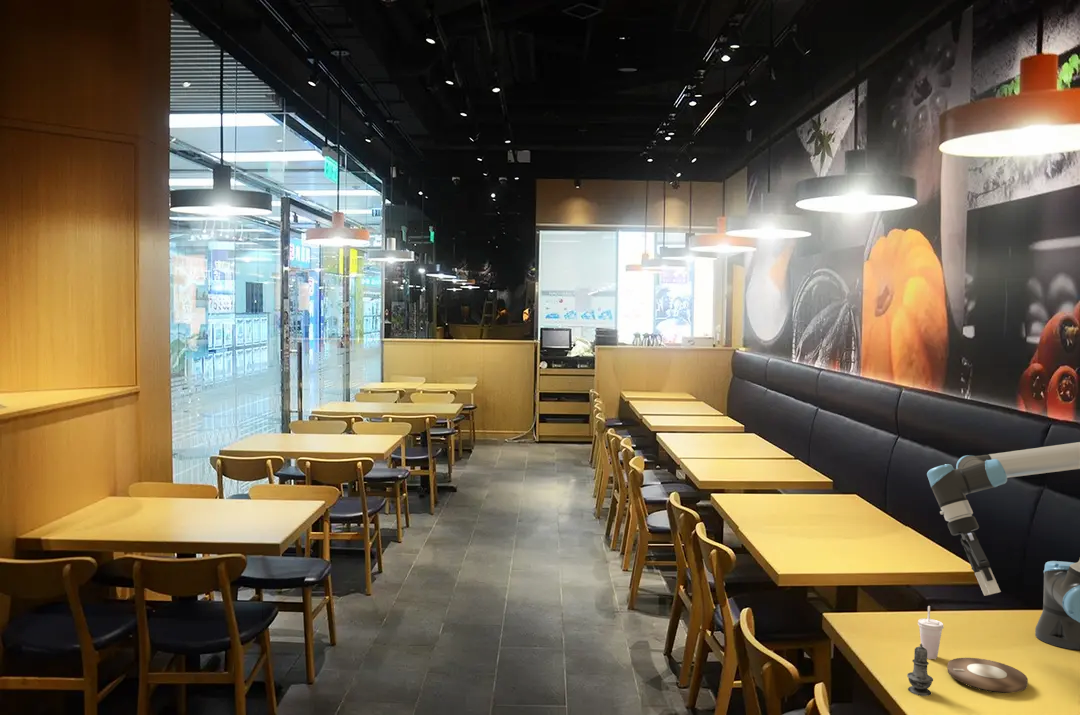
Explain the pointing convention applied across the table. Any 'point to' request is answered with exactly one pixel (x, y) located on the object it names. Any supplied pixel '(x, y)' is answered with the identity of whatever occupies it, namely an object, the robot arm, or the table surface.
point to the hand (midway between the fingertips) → (992, 594)
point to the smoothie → (930, 635)
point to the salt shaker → (920, 673)
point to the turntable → (987, 674)
